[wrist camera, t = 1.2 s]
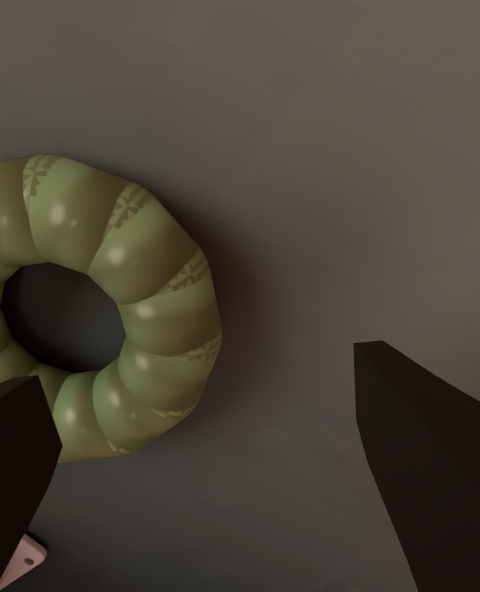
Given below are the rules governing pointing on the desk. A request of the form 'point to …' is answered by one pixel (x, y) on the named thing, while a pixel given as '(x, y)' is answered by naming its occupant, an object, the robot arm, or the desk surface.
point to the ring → (122, 289)
